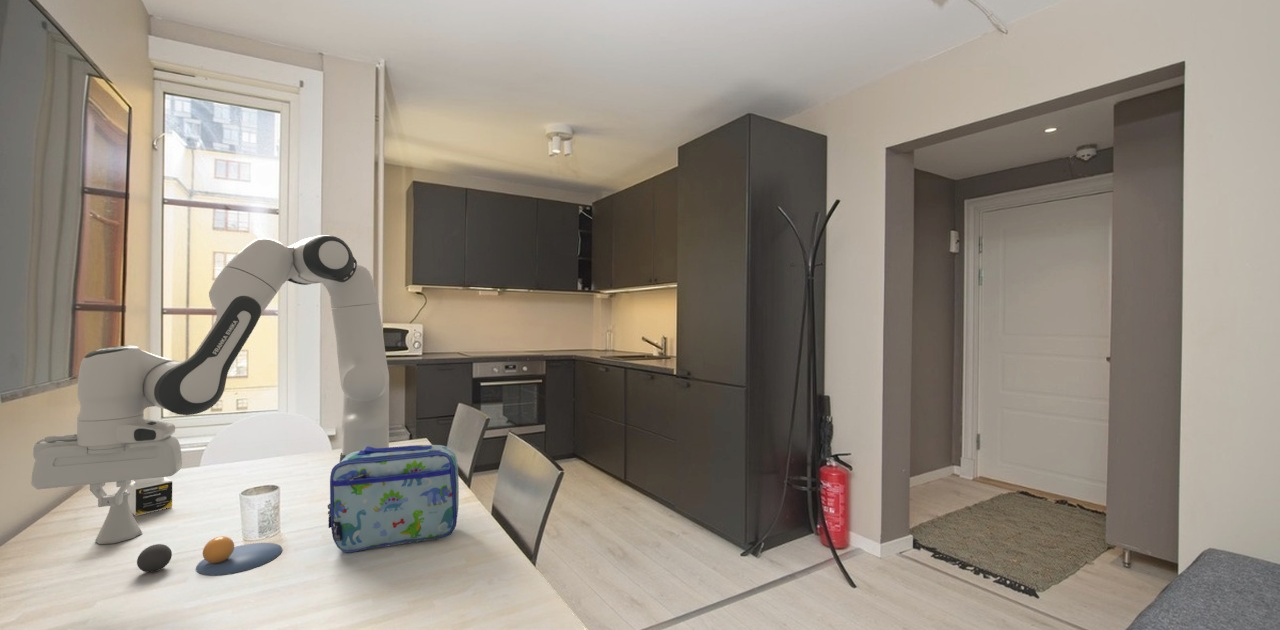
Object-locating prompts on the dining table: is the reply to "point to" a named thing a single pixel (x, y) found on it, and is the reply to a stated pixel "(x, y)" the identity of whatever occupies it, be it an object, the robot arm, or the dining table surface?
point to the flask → (119, 524)
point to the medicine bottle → (149, 495)
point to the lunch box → (393, 496)
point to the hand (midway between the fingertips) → (110, 505)
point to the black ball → (154, 558)
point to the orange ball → (218, 549)
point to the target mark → (242, 559)
